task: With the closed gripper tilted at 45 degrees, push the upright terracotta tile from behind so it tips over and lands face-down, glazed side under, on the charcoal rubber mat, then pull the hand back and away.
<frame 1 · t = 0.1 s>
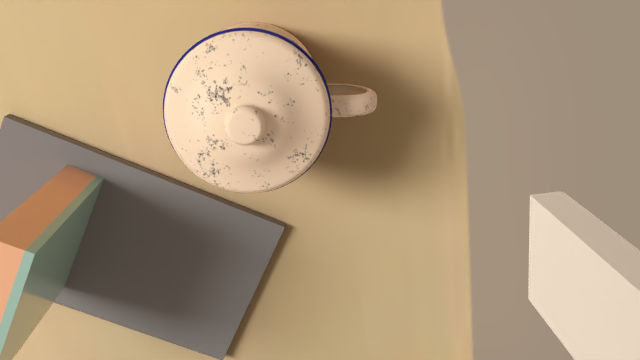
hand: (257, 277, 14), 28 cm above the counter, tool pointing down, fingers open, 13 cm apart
teacup with lid: (277, 86, 41), on the counter
mat: (124, 243, 44), on the counter
tile: (66, 227, 42), point 1 cm above the counter, touching mat
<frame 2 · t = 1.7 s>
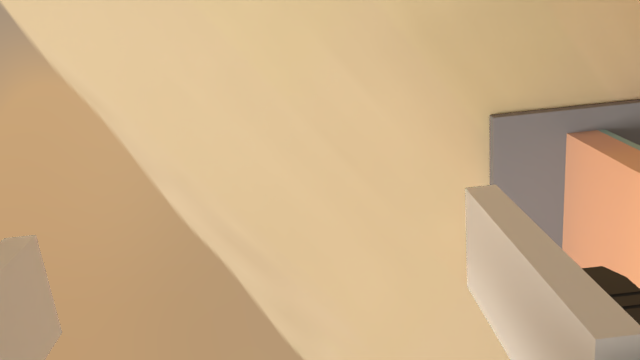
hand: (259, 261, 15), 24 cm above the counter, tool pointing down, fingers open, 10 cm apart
mat: (635, 186, 41), on the counter
tile: (582, 197, 40), point 1 cm above the counter, touching mat
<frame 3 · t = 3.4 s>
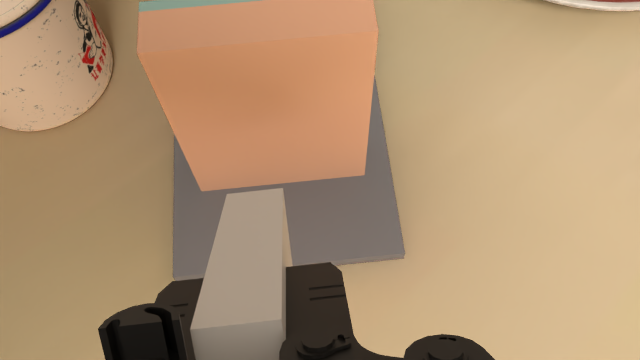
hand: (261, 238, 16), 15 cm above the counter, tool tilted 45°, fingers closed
teacup with lid: (39, 61, 39), on the counter
mat: (277, 110, 36), on the counter
tile: (281, 163, 34), point 1 cm above the counter, touching mat
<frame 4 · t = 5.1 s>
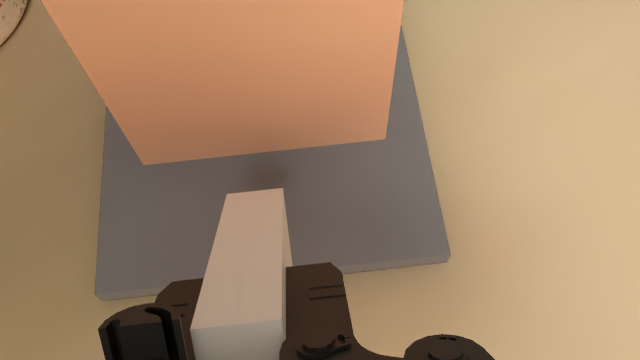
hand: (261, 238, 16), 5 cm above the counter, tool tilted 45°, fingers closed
mat: (258, 52, 25), on the counter
tile: (262, 123, 23), point 1 cm above the counter, touching mat
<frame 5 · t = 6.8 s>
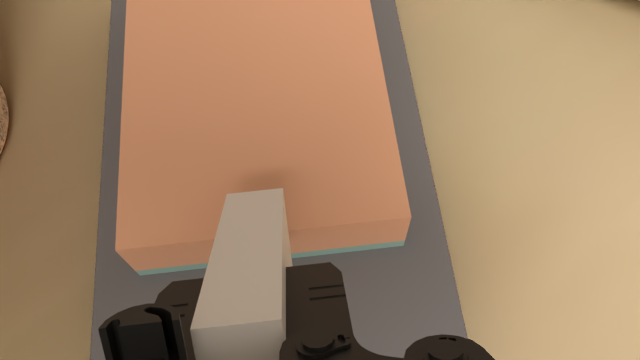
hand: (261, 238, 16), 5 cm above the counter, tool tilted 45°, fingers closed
mat: (268, 201, 22), on the counter
tile: (268, 247, 19), point 2 cm above the counter, tilted 90°, touching mat
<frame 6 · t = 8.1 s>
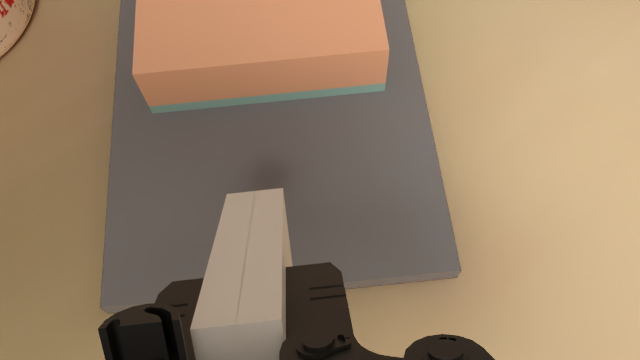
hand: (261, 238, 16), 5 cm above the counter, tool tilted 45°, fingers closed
mat: (266, 61, 25), on the counter
tile: (265, 83, 22), point 2 cm above the counter, tilted 90°, touching mat
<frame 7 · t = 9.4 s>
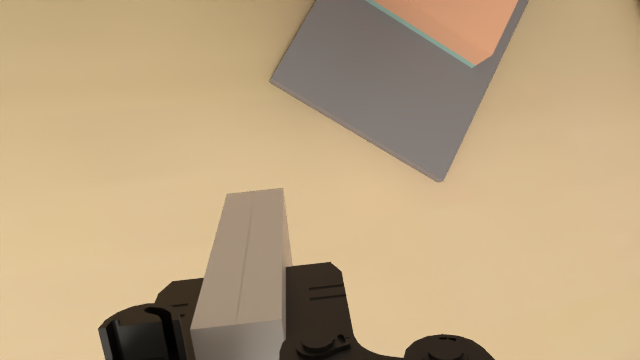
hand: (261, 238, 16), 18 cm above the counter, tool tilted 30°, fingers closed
mat: (423, 2, 39), on the counter
tile: (420, 22, 36), point 2 cm above the counter, tilted 90°, touching mat
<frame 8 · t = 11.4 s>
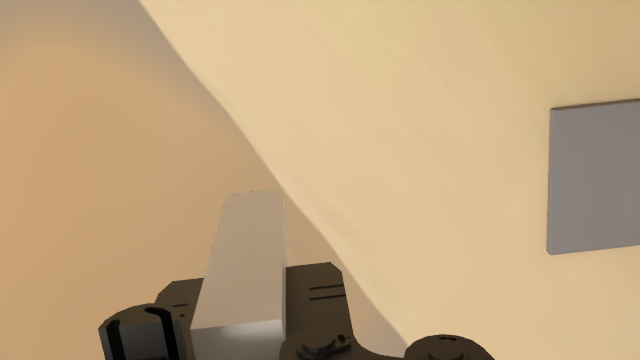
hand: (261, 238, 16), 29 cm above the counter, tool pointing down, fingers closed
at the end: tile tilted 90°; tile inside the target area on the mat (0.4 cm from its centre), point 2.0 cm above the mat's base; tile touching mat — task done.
